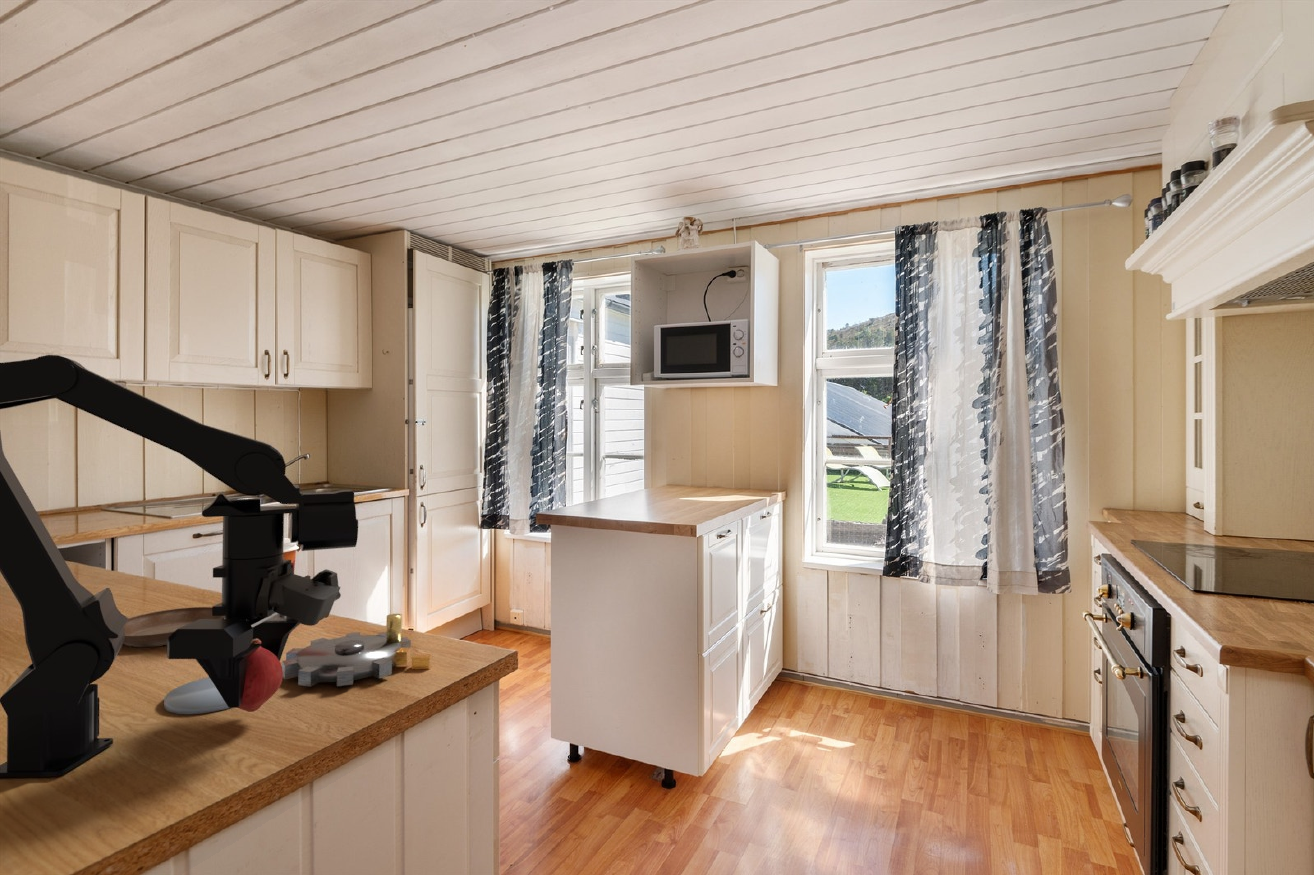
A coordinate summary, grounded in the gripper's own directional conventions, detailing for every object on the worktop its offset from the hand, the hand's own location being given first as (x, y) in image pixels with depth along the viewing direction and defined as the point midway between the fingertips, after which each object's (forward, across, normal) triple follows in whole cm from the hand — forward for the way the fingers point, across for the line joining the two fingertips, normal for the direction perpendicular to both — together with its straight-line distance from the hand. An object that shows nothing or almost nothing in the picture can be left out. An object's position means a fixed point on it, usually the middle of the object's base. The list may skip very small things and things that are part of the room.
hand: (251, 695), depth 71 cm
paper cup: (+3, +34, +16) cm, 38 cm away
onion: (+2, 0, 0) cm, 2 cm away
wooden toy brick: (+3, +16, -7) cm, 18 cm away
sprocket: (+3, +16, -4) cm, 17 cm away
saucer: (+4, +30, +29) cm, 42 cm away
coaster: (+3, +7, +8) cm, 11 cm away
